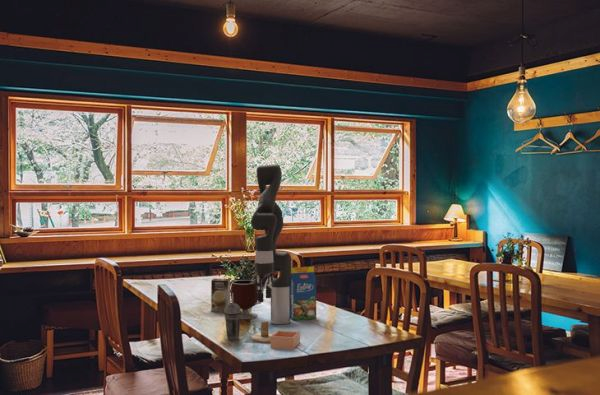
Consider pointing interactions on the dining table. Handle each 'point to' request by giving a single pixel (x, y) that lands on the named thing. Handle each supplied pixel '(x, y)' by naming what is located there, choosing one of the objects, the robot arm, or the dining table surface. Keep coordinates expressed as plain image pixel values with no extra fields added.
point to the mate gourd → (244, 296)
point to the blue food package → (302, 293)
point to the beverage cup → (232, 320)
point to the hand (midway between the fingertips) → (264, 300)
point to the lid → (263, 333)
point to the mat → (254, 341)
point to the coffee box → (220, 294)
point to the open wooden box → (285, 339)
